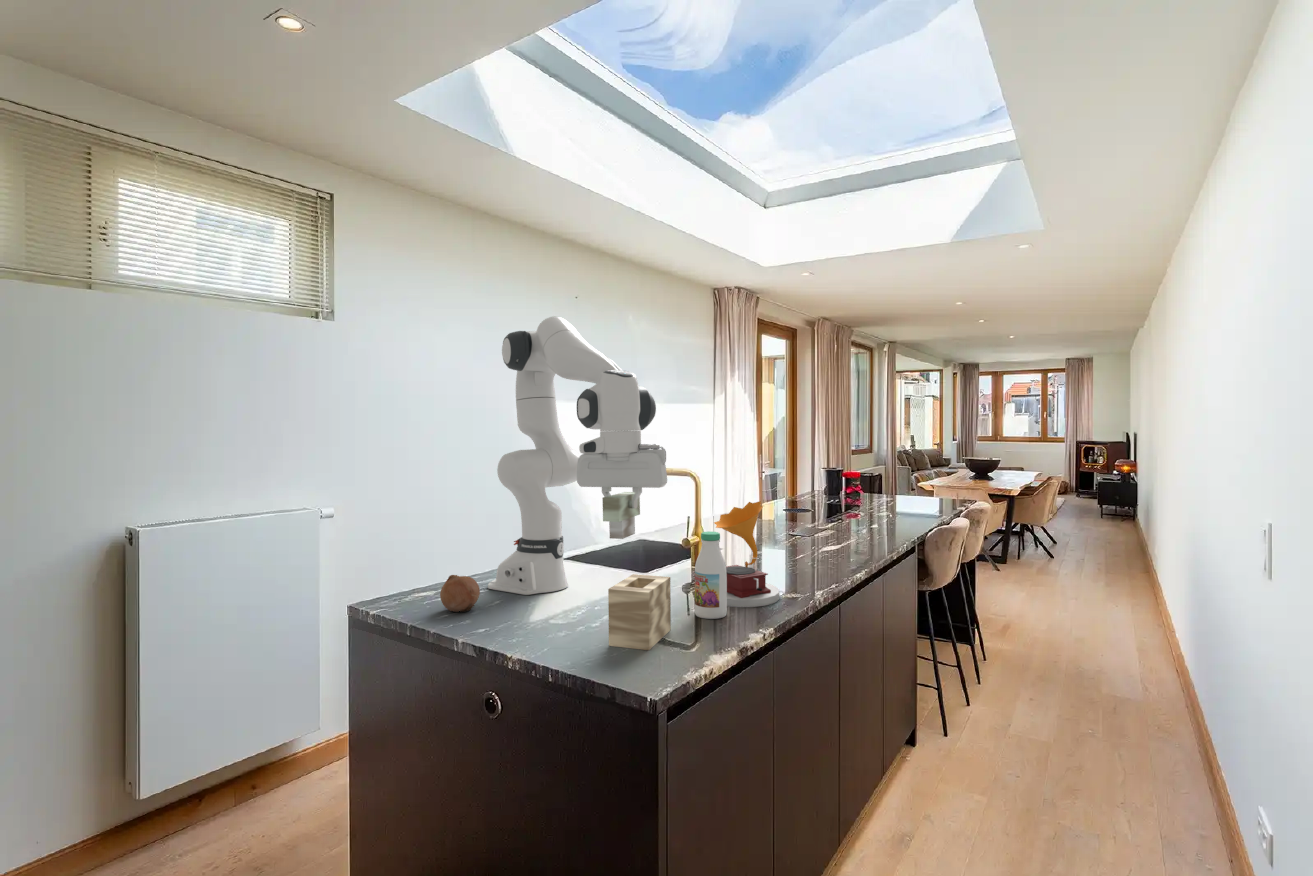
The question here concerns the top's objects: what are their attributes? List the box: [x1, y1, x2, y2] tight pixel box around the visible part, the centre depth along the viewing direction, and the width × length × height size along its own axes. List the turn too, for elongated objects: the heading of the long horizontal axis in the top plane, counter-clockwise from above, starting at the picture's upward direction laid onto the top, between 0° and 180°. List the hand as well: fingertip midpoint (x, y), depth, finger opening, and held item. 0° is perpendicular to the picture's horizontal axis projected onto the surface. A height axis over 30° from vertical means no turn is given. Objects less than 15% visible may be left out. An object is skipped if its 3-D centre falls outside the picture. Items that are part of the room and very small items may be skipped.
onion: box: [439, 574, 481, 613], centre depth 171 cm, size 10×9×10 cm
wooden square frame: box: [607, 573, 672, 651], centre depth 149 cm, size 14×9×12 cm, turn 160°
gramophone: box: [713, 501, 780, 608], centre depth 182 cm, size 20×20×25 cm
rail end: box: [602, 491, 641, 540], centre depth 149 cm, size 12×4×9 cm, turn 160°
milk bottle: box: [694, 531, 728, 620], centre depth 165 cm, size 8×8×20 cm
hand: (622, 508), depth 149 cm, fingers closed on rail end, 4 cm apart
